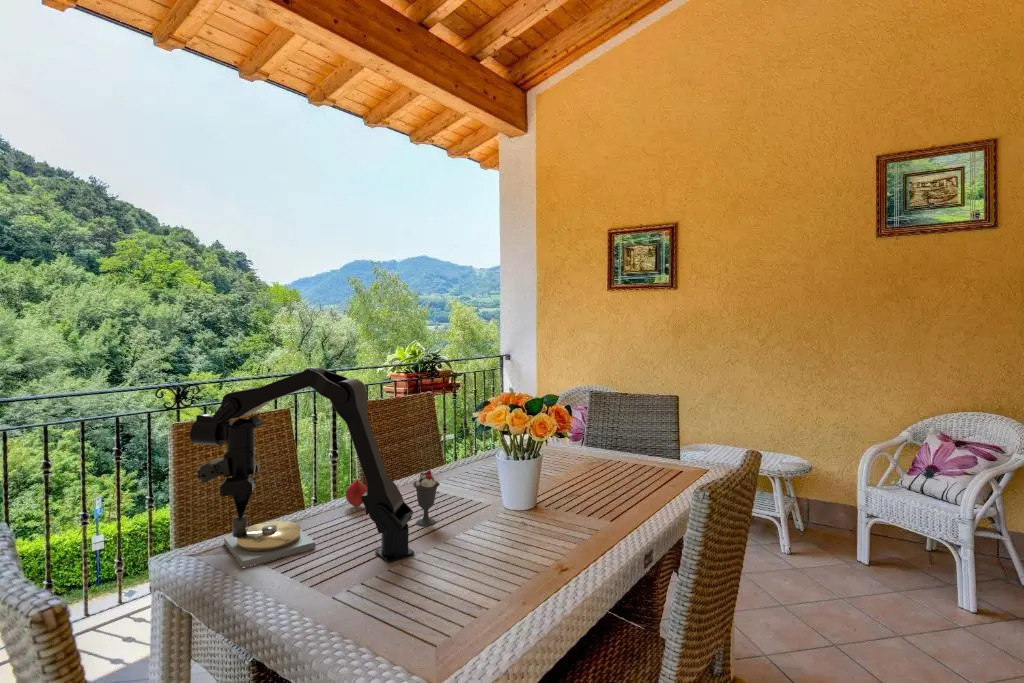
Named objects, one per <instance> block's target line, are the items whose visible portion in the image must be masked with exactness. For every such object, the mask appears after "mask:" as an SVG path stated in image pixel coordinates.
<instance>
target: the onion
mask: <svg viewBox="0 0 1024 683" xmlns="http://www.w3.org/2000/svg"><path fill="white" fill-rule="evenodd" d="M366 492H367V485H365V484H364V483H363V482H361V481H360V478H355V480H354V481H353V482H352V483H351V484H349V486H348V488H347V489H346V490H345V499H346V502H348V503H349V504H350V505H352V506H353V507H354V508H356V507H357V508H359V507H360V506H361V505H362V504H363V502H362V499H361V496H362V495H363V494H365V493H366Z"/></svg>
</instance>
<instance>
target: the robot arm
mask: <svg viewBox="0 0 1024 683" xmlns="http://www.w3.org/2000/svg"><path fill="white" fill-rule="evenodd" d="M308 388H312V389H313V390H314V391H315V392H317V393H318V394H319V395H320V396H322V397H324V398H326V399H328V400H329V401H330V402H331V405H332V406H333V408H334V410H335V412H336V414H337V415H339V417H340V418H341V419H342V420H343V421H344V422H345V424H346V426H347V429H348V431H349V436H350V438H351V441H352V444H353V447H354V449H355V453H356V456H357V458H358V461H359V464H360V468H361V470H362V474H363V476H364V479H365V482H366V488H367V492H366V493H365V494H363V495H362V496H361V499H362V502H363V503H362V504H363V505H364V507H365V508H364V509H365V515H366V516H369V518H370V520H371V521H372V522H373V523H374V524H375V527H376V529H377V533H379V534H381V539H380V540H381V543H380V544H381V548H377V549H375V551H374V553H375V554H376V555H378V556H379V557H381V558H382V559H383V560H384V561H386V562H388V563H391V562H395V561H397V560H401V559H403V558H407V557H410V556H413V555H415V551H414V550H413V549H412V548H410V547H409V532H410V531H409V524H408V523H409V521H410V520H411V519H412V518H413V515H414V510H412V508H411V507H410V506H409V505H408V504H407V503H406V501H404V498H403V495H402V494H401V492H400V490H399V488H398V486H397V485H396V483H395V482H394V481H393V480H392V479H391V478H390V477H389V475H388V473H387V469H386V468H385V465H384V461H383V459H382V455H381V453H380V450H379V447H378V444H377V442H376V441H377V440H376V438H375V436H374V432H373V428H372V426H371V423H370V420H369V417H368V406H369V402H368V401H369V400H368V395H367V389H366V385H365V384H364V382H362V381H361V380H360V379H357V378H349V377H348V378H347V376H344V375H341V374H337V373H335V372H331V371H329V370H327V369H325V368H323V367H321V366H314V367H308V368H306V369H304V370H303V371H300V372H298V373H295V374H292V375H289V376H287V377H285V378H284V377H283V378H281V379H279V380H276V381H273V382H271V383H267V384H265V385H262V386H258V387H252V388H245V389H241V390H240V389H239V390H235V391H232V392H228V393H225V395H224V396H222V400H221V404H220V406H219V407H218V409H217V410H216V411H215V413H214V414H209V413H201V414H197V415H196V420H195V421H194V422H193V424H192V425H191V429H190V431H189V440H190V441H191V443H193V444H194V445H205V446H207V445H209V446H210V445H211V446H222V445H223V444H225V445H226V448H225V453H223V456H221V457H218V458H215V459H212V460H211V461H207V462H205V463H202V464H201V465H199V466H198V467H197V469H196V470H195V471H196V473H197V475H196V477H197V479H199V480H200V482H201V483H202V484H205V483H209V481H210V480H213V479H216V478H218V477H220V476H222V478H224V480H223V481H222V482H221V484H220V486H219V497H230V496H232V498H233V501H234V505H235V509H236V513H237V515H240V514H245V511H246V508H247V506H248V504H249V501H250V499H251V496H252V494H253V492H254V489H255V486H256V482H257V477H252V475H255V474H259V471H260V462H259V461H257V460H256V452H257V447H256V444H255V443H256V440H255V439H256V438H255V437H256V436H255V435H256V432H255V429H256V428H258V427H262V426H264V425H265V422H264V421H263V420H262V419H260V418H259V417H258V415H252V416H249V418H243V416H247V415H250V414H254V413H255V412H257V411H258V410H260V409H262V408H264V407H265V406H266V405H267V404H269V403H271V402H273V401H274V400H278V399H280V398H282V397H285V396H288V395H291V394H294V393H297V392H299V391H301V390H305V389H308ZM232 419H233V420H234V419H235V420H234V421H231V420H232Z"/></svg>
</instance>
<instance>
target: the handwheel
mask: <svg viewBox="0 0 1024 683" xmlns="http://www.w3.org/2000/svg"><path fill="white" fill-rule="evenodd" d="M248 518H249V517H248V514H245V513H244V514H240V515H239V514H237V515H236V514H235V515H234V516H232V520H231V521H232V524H231V525H232V536H233V537H237V546H238V547H239V548H241V549H243V550H248V551H268V550H274V549H278V548H282V547H285V546H288V545H290V544H292V543H294V542H295V541H297V540H298V539H299V538H300V529H301V526H300V525H299V524H298V523H296V522H294V521H288V520H274V521H266V522H262V523H261V522H260V523H257V524H253V525H251V526H248V524H249V523H248V521H249V520H248Z"/></svg>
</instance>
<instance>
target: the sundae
mask: <svg viewBox="0 0 1024 683" xmlns="http://www.w3.org/2000/svg"><path fill="white" fill-rule="evenodd" d="M432 468H433V466H432V465H430V467H428V470H427V471H426V472H420V476H419V478H418V479H417V480H416V481H414V482H413V484H412V486H413V488H415V491H416V497H417V504H418V506H419V507H420V508H421V509H422V510H423V517H422V518H419V519H418V520H416V522H415V523H416V525H417V526H420V527H430V526H434V525H435V524H436V522H437V521H436V520H435V519H434V518H430V516H429V510H430V509H431V508H433V506H434V504H435V500H436V493H437V490H438V489H437V488H438V487H439V486H440V482H438V480H435V477H434V475H433V473H432V471H431V469H432Z"/></svg>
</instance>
